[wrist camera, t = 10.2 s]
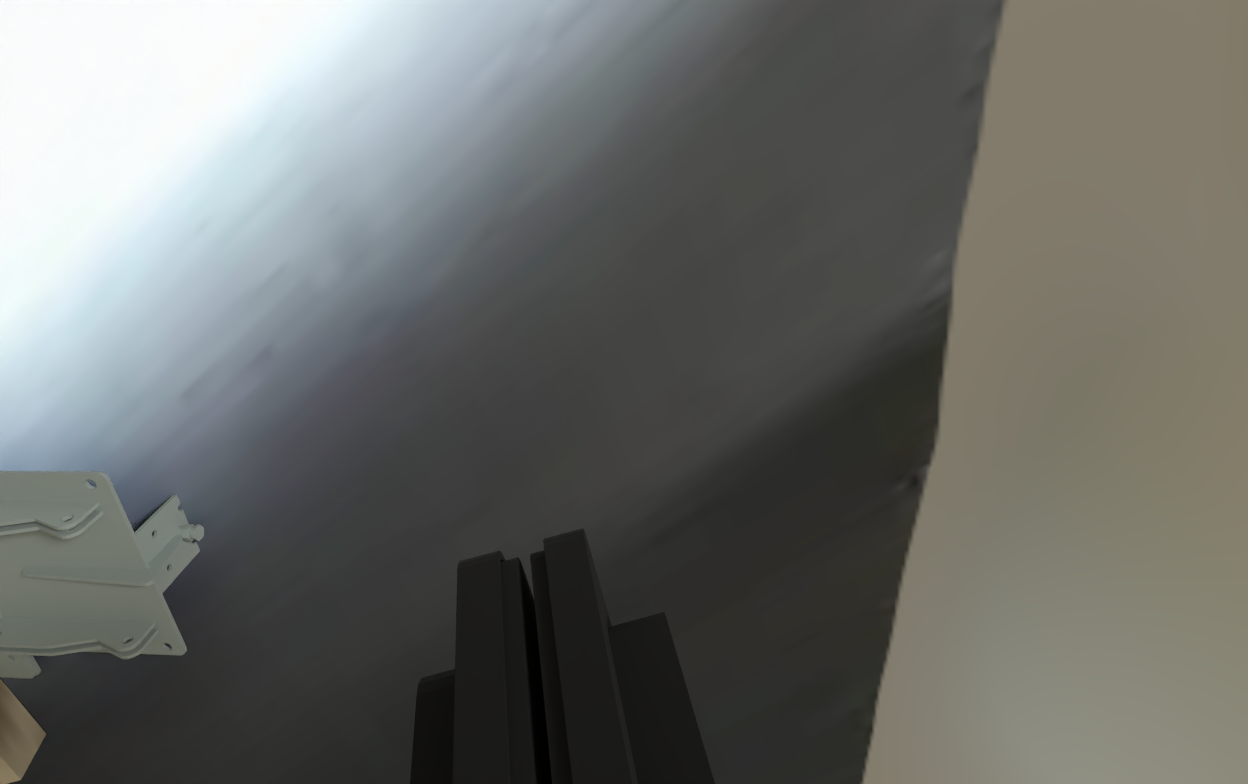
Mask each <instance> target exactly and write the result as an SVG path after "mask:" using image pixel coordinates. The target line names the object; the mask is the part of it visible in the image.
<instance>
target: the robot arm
mask: <svg viewBox="0 0 1248 784" xmlns="http://www.w3.org/2000/svg"><path fill="white" fill-rule="evenodd" d="M543 542H544V551H540V552H536V553H532V554H531V555H530V560H531V571H532V581H533V591H534V599H533V596H532V593H531V590H530V587H529V584H528V581H527V578H526V575H525V572H524V569H523V566H522V564H521V561H520V559H519V558H518V557H517V558H514V559H510V560H506V561H505V559H504V556H503V554H502V553H501V551H497V552H493V553H489V554H485V555H482V556H478V557H474V558H470V559H466V560H463V561H459V563H458V569H457V612H456V657H455V669H453V670H449V671H446V672H442V673H438V674H435V675H431V676H427V677H424V678H421V680H420V682H419V684H418V690H417V698H416V711H415V725H414V739H413V752H412V766H411V779H410V784H715V783H714V779H713V776H712V773H711V769H710V766H709V762H708V759H707V755H706V752H705V749H704V745H703V742H702V738H701V735H700V732H699V728H698V725H697V721H696V718H695V715H694V711H693V708H692V704H691V701H690V697H689V694H688V691H687V687H686V684H685V680H684V677H683V674H682V670H681V667H680V663H679V660H678V657H677V653H676V650H675V646H674V643H673V639H672V636H671V633H670V629H669V626H668V623H667V619H666V616H665V613H664V612H663V613H659V614H656V615H652V616H648V617H645V618H641V619H637V620H634V621H630V622H626V623H623V624H619V625H615V626H612V625H611V621H610V618H609V614H608V611H607V607H606V604H605V600H604V597H603V593H602V590H601V586H600V583H599V579H598V576H597V572H596V569H595V565H594V562H593V558H592V555H591V551H590V548H589V544H588V541H587V538H586V534H585V531H584V529H580V530H576V531H572V532H568V533H564V534H561V535H557V536H553V537H549V538H546V539H544V541H543Z"/></svg>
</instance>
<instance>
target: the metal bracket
mask: <svg viewBox="0 0 1248 784" xmlns="http://www.w3.org/2000/svg"><path fill="white" fill-rule="evenodd" d="M88 479H89V480H92V481H94V482H95V484H96V487H94V486H91V485H90V484H89V483H88ZM179 505H180V502H179V500H178V497H177V495H172V496H171V497H170V498H169V499H168V500H167V501H166V502H165V503H164V504H163V505H162V506H161V507H160V508H159V509H158V510H157V511H156V512H155V513H154V514H153V515H152V516H151V517H150V518H149V519H148V520H147V521H146V522H145V523H144V524H143V525H142V526H141V527H139V528H138V529H137V530H136V531H135V532H134V531H133V529H132V526H131V524H130V522H129V520H128V518H127V515H126V513H125V511H124V509H123V507H122V504H121V502H120V500H119V498H118V496H117V493H116V491H115V489H114V487H113V485H112V482H111V480H110V478H109V477H108V475H107V474H105V473H104V472H99V471H0V677H5V678H27V679H31V678H33V677H34V676H38V675H39V673H40V672H41V669H40V667H39V665H38V664H37V662H36V660H35V659H34V657H33V655H34V656H56V655H63V654H70V653H76V652H108V653H111V654H113V655H115V656H117V657H119V658H122V659H130V658H133V657H135V656H137V655H139V654H158V655H184V654H185V652H186V651H187V647H186V645H185V643H184V641H183V638H182V636H181V634H180V632H179V630H178V627H177V625H176V623H175V621H174V619H173V616H172V614H171V612H170V610H169V608H168V605H167V603H166V601H165V599H164V597H163V594H162V593H163V592H164V591H165V590H166V589H167V588H168V586H169V585H170V584H171V583H172V582H173V581H174V580H175V579H176V577H177V576H178V575H179V574H180V573H181V572H182V571H183V570H184V568H185V567H186V566H187V565H188V564H189V563H190V562H191V560H192V559H193V558H194V557H195V556H196V555H197V554H198V553H199V551H200V550H199V547H198V545H197V543H196V542H194V543H192V541H193V540H194V539H195V540H196V541H200V540H201V539H202V538H203V536H204V527H202V526H201V525H199V524H197V525H196V526H194V525H193V524H189V523H188V521H187V519H186V516H185V514H184V512H183V509H182V510H178V506H179ZM153 531H154V536H153V537H152V532H153ZM168 565H169V569H168V570H167V566H168ZM164 643H168V644H170V645H171V646H172V648H169V647H167V646H166V645H165V644H164Z"/></svg>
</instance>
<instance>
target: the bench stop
mask: <svg viewBox="0 0 1248 784" xmlns="http://www.w3.org/2000/svg"><path fill="white" fill-rule="evenodd" d="M45 735H46V733H45V732H44V731H43V729H42V728H41V727H40V726H39V725H38V723H37V722H36V721H35V720H34V718H33V717H32V716H31V715H30V714H29V712H28V711H27V710H26V709H25V708H24V706H23V705H22V704H21V703H20V702H19V700H18V699H17V698H16V697H15V696H14V694H13V693H12V692H11V691H10V690H9V688H8V687H7V686H6V685H5V684H4V682H3V681H2V680H1V679H0V784H8V783H11V782H15V781H19V780H21V779H22V777H23V775H24V774H25V772H26V770H27V768H28V766H29V765H30V763H31V761H32V759H33V757H34V755H35V754H36V752H37V750H38V748H39V746H40V745H41V743H42V741H43V739H44V737H45Z"/></svg>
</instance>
